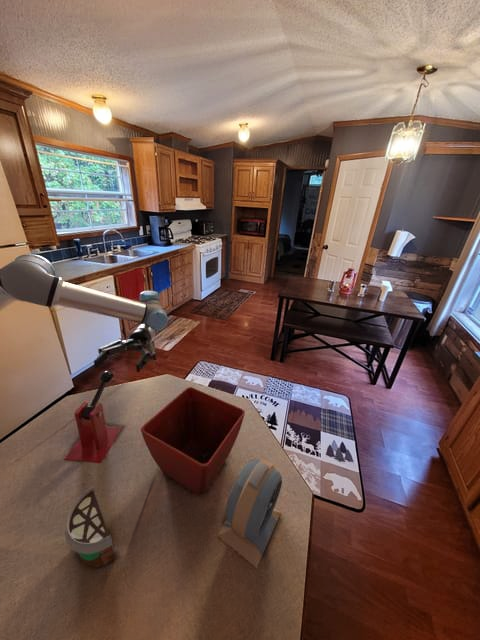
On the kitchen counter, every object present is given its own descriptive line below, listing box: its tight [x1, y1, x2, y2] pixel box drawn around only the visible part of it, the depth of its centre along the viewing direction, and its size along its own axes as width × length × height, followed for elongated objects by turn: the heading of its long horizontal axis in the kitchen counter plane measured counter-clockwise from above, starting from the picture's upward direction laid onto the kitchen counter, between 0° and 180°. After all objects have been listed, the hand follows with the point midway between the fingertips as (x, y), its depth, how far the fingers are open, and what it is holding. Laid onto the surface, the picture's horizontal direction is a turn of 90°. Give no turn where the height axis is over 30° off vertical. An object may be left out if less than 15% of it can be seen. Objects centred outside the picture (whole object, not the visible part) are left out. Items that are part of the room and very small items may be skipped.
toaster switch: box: [63, 401, 123, 464], centre depth 70 cm, size 12×10×14 cm
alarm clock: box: [217, 458, 283, 569], centre depth 54 cm, size 14×10×18 cm
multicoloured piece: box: [65, 486, 116, 569], centre depth 49 cm, size 12×6×10 cm, turn 42°
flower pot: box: [140, 386, 246, 497], centre depth 67 cm, size 19×19×17 cm
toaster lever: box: [82, 370, 114, 420], centre depth 72 cm, size 14×4×4 cm, turn 177°
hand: (116, 366), depth 81 cm, fingers open, 13 cm apart
